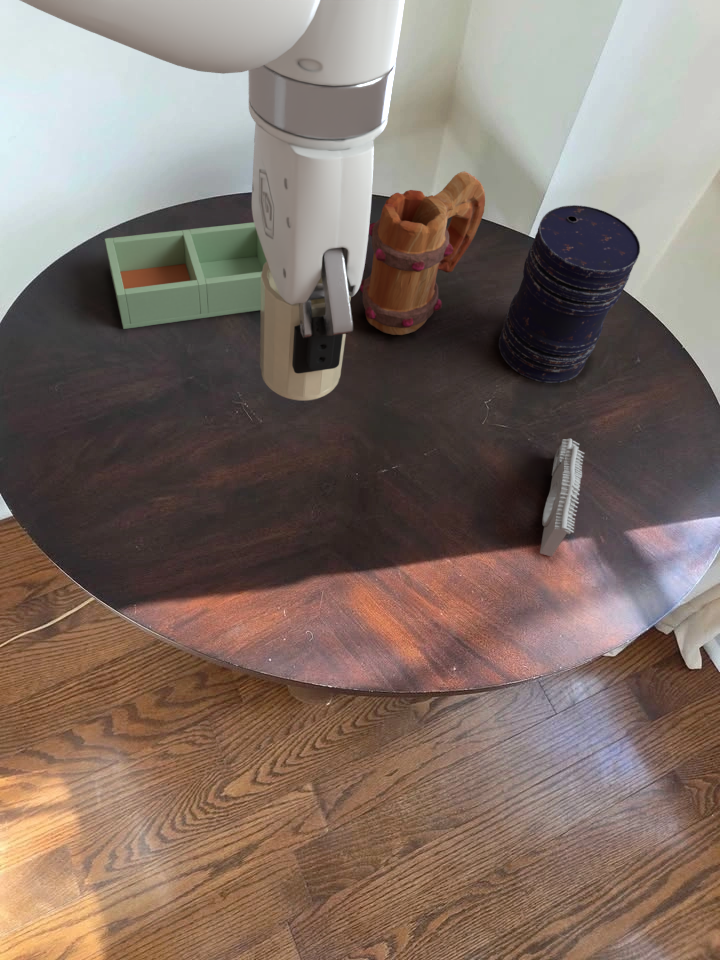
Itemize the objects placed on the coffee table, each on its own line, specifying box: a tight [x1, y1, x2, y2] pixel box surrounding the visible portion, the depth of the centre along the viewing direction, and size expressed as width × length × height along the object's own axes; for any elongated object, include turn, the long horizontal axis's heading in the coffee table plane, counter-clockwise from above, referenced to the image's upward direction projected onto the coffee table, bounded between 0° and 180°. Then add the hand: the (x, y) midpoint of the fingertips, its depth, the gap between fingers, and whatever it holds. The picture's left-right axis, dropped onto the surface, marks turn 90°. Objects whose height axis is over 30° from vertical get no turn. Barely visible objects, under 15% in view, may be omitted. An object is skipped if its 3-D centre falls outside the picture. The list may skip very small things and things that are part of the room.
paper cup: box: [259, 262, 352, 402], centre depth 55 cm, size 6×6×9 cm
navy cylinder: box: [498, 204, 641, 384], centre depth 79 cm, size 10×10×15 cm
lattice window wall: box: [539, 437, 586, 558], centre depth 71 cm, size 12×2×6 cm, turn 164°
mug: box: [359, 171, 486, 336], centre depth 80 cm, size 15×8×15 cm, turn 131°
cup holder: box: [104, 221, 267, 330], centre depth 83 cm, size 17×9×5 cm, turn 108°
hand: (303, 331), depth 55 cm, fingers closed on paper cup, 6 cm apart
